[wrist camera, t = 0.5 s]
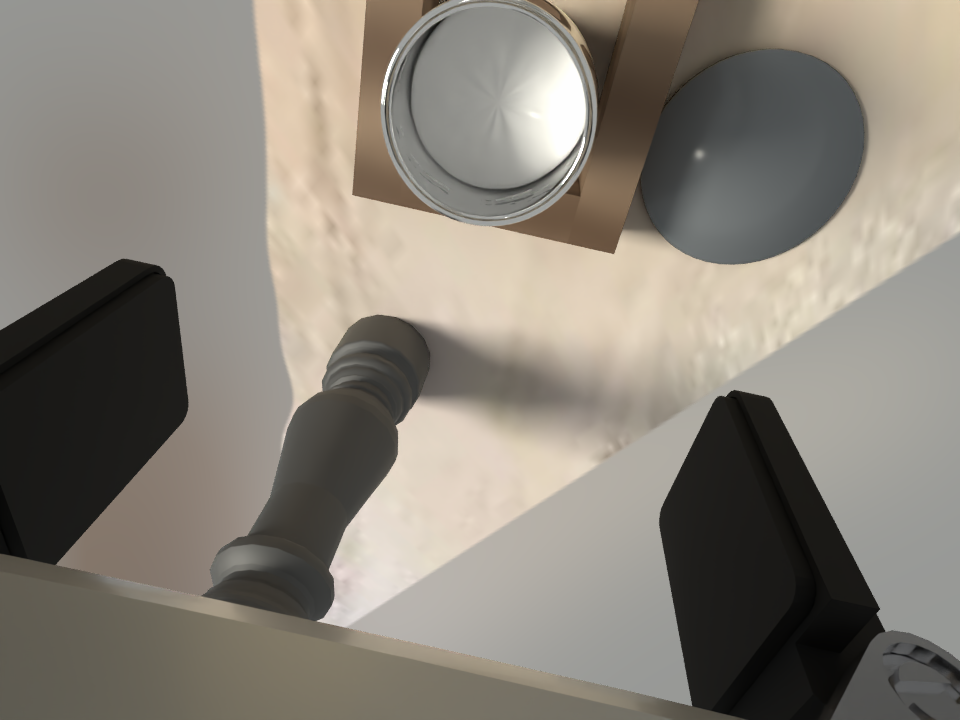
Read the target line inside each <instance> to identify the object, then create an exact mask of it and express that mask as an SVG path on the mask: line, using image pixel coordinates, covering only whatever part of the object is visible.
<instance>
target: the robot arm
mask: <svg viewBox="0 0 960 720" xmlns="http://www.w3.org/2000/svg"><path fill="white" fill-rule="evenodd" d="M187 411H188V395H187V386H186V377H185V369H184V360H183V352H182V343H181V335H180V326H179V318H178V309H177V301H176V292H175V285H174V282H173V280H172V279H171V278H170V277H168V276H166V274H165V272H164V270H163V269H162V268H161V267H160V266H157V265H152V264H148V263H143V262H138V261H134V260H129V259H121V260H118V261H116V262H114V263H113V264H111V265H109V266H108V267H106V268H104V269H103V270H101V271H99V272H98V273H96V274H94V275H93V276H91V277H89V278H88V279H86V280H85V281H83V282H81V283H79V284H78V285H76V286H74V287H72V288H71V289H69V290H67V291H66V292H64V293H62V294H61V295H59V296H57V297H56V298H54V299H52V300H51V301H49V302H47V303H46V304H44V305H42V306H40V307H39V308H37V309H36V310H34V311H32V312H30V313H29V314H27V315H25V316H24V317H22V318H20V319H19V320H17V321H15V322H14V323H12V324H10V325H9V326H7V327H5V328H3V329H2V330H0V720H960V661H959V660H958V659H956V658H955V657H954V656H953V655H951V654H950V653H949V652H947V651H945V650H944V649H942V648H940V647H939V646H937V645H935V644H934V643H932V642H930V641H928V640H925V639H923V638H921V637H918V636H916V635H913V634H911V633H906V632H899V631H888V632H885V630H884V628H883V626H882V624H881V622H880V620H879V618H878V616H877V614H876V613H877V612H878V611H879V610H880V608H879V606H878V604H877V602H876V600H875V598H874V597H873V595H872V593H871V591H870V589H869V587H868V585H867V583H866V581H865V579H864V577H863V575H862V573H861V571H860V570H859V568H858V566H857V564H856V562H855V560H854V558H853V556H852V554H851V552H850V551H849V548H848V547H847V545H846V543H845V541H844V539H843V537H842V535H841V533H840V531H839V529H838V527H837V525H836V523H835V521H834V520H833V517H832V516H831V514H830V512H829V510H828V508H827V506H826V504H825V502H824V500H823V498H822V496H821V494H820V492H819V491H818V489H817V487H816V485H815V483H814V481H813V479H812V477H811V475H810V473H809V471H808V470H807V467H806V465H805V464H804V462H803V460H802V458H801V456H800V454H799V452H798V450H797V448H796V446H795V444H794V442H793V440H792V439H791V436H790V435H789V433H788V431H787V429H786V427H785V425H784V423H783V421H782V419H781V417H780V415H779V413H778V412H777V410H776V408H775V406H774V404H773V402H772V400H771V399H770V398H768V397H765V396H759V395H755V394H751V393H746V392H741V391H736V390H734V391H731V392H730V393H729V394H728V395H727V396H726V397H724V396H719V397H717V398H716V399H715V401H714V403H713V404H712V407H711V408H710V411H709V412H708V415H707V416H706V418H705V420H704V423H703V425H702V427H701V429H700V431H699V433H698V435H697V437H696V439H695V441H694V443H693V445H692V447H691V449H690V451H689V453H688V455H687V457H686V459H685V461H684V463H683V465H682V467H681V469H680V471H679V473H678V475H677V477H676V479H675V481H674V483H673V485H672V487H671V489H670V491H669V493H668V496H667V497H666V499H665V501H664V504H663V506H662V508H661V512H660V518H659V526H660V532H661V538H662V543H663V548H664V554H665V560H666V565H667V570H668V576H669V581H670V587H671V592H672V598H673V603H674V608H675V614H676V619H677V625H678V631H679V636H680V641H681V647H682V652H683V657H684V663H685V669H686V674H687V679H688V684H689V690H690V696H691V701H692V706H688V705H684V704H680V703H676V702H672V701H668V700H664V699H659V698H655V697H651V696H647V695H643V694H639V693H635V692H631V691H626V690H622V689H617V688H613V687H609V686H604V685H599V684H595V683H591V682H586V681H582V680H577V679H573V678H568V677H563V676H559V675H555V674H551V673H546V672H542V671H537V670H533V669H528V668H524V667H520V666H515V665H511V664H506V663H501V662H497V661H493V660H488V659H484V658H479V657H475V656H471V655H466V654H462V653H457V652H453V651H448V650H444V649H439V648H435V647H430V646H426V645H421V644H417V643H412V642H407V641H403V640H399V639H394V638H389V637H385V636H380V635H376V634H371V633H366V632H362V631H357V630H353V629H349V628H344V627H339V626H335V625H330V624H326V623H321V622H317V621H312V620H308V619H303V618H298V617H294V616H289V615H285V614H280V613H275V612H271V611H266V610H262V609H257V608H253V607H248V606H243V605H239V604H234V603H230V602H225V601H220V600H216V599H211V598H207V597H202V596H197V595H193V594H188V593H183V592H179V591H174V590H169V589H165V588H160V587H155V586H150V585H146V584H141V583H136V582H132V581H127V580H122V579H117V578H113V577H108V576H103V575H99V574H94V573H90V572H85V571H80V570H75V569H71V568H66V567H61V566H57V565H56V564H57V562H58V561H59V560H60V559H61V558H62V557H63V556H64V555H65V554H66V552H67V551H68V550H69V549H70V548H71V547H72V546H73V545H74V544H75V542H76V541H77V540H78V539H79V538H80V537H81V536H82V534H83V533H84V532H85V531H86V530H87V529H88V528H89V527H90V526H91V524H92V523H93V522H94V521H95V520H96V519H97V518H98V517H99V515H100V514H101V513H102V512H103V511H104V510H105V509H106V508H107V506H108V505H109V504H110V503H111V502H112V501H113V500H114V499H115V497H116V496H117V495H118V494H119V493H120V492H121V491H122V490H123V489H124V487H125V486H126V485H127V484H128V483H129V482H130V481H131V480H132V478H133V477H134V476H135V475H136V474H137V473H138V472H139V471H140V469H141V468H142V467H143V466H144V465H145V464H146V463H147V462H148V460H149V459H150V458H151V457H152V456H153V455H154V454H155V453H156V451H157V450H158V449H159V448H160V447H161V446H162V445H163V444H164V442H165V441H166V440H167V439H168V438H169V437H170V436H171V435H172V433H173V432H174V431H175V430H176V429H177V428H178V427H179V426H180V425H181V423H182V422H183V421H184V418H185V417H186V414H187Z"/></svg>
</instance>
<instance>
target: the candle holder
mask: <svg viewBox="0 0 960 720" xmlns="http://www.w3.org/2000/svg"><path fill="white" fill-rule="evenodd" d="M429 360H430V353H429V350H428V348H427V345H426V343H425V340H424V338H423V337H422V336H421V335H420V334H419V333H418V332H417V331H416V330H415V329H414V328H413V327H412V326H411V325H409V324H407V323H405V322H403V321H401V320H400V319H398V318H396V317H389V316H382V315H375V316H370V317H366V318H362V319H360V320H359V321H357V322H356V323H355V324H353V325H352V326H351V327H350V328H349V329H348V330H347V332H346V333H345V335H344V336H343V338H342V339H341V341H340V343H339V344H338V346H337V347H336V349H335V350H334V352H333V354H332V356H331V358H330V360H329V362H328V365H327V371H326V373H325V376H324V378H323V380H322V388H323V392H319V393H317V394H316V395H314V396H313V397H312V398H310V399H309V400H308V401H306V402H305V403H303V404H302V405H301V406H299V407H298V409H297V410H296V412H295V413H294V415H293V417H292V420H291V422H290V424H289V426H288V429H287V432H286V436H285V440H284V444H283V449H282V453H281V457H280V461H279V464H278V468H277V472H276V476H275V480H274V484H273V488H272V492H271V495H270V498H269V500H268V502H267V504H266V505H265V507H264V509H263V510H262V512H261V514H260V515H259V517H258V519H257V520H256V522H255V524H254V525H253V527H252V529H251V531H250V532H249V534H248V536H245V537H238V538H237V539H235V540H233V541H232V542H230V543H229V544H227V545H225V546H224V547H222V548H221V549H220V551H219V552H218V553H217V555H216V557H215V559H214V562H213V564H212V566H211V569H210V572H211V577H212V581H213V586H214V587H212V588H210V589H209V590H208V591H207V593H205V594H203V595H202V597H207V598H211V599H216V600H220V601H225V602H230V603H234V604H239V605H243V606H248V607H253V608H257V609H262V610H266V611H271V612H275V613H280V614H285V615H289V616H294V617H298V618H303V619H308V620H312V621H317V620H320V619H322V618H324V616H325V615H326V613H327V612H328V610H329V609H330V607H331V606H332V603H333V600H334V579H333V577H332V575H331V574H330V572H329V567H330V565H331V563H332V560H333V558H334V555H335V553H336V550H337V548H338V545H339V543H340V541H341V538H342V536H343V533H344V531H345V528H346V527H347V526H348V524H349V523H350V522H351V520H352V519H353V518H354V517H355V515H356V514H357V513H358V511H359V510H360V509H361V507H362V506H363V505H364V504H365V502H366V501H367V500H368V498H369V497H370V496H371V494H372V493H373V492H374V491H375V489H376V488H377V487H378V486H379V484H380V483H381V482H382V480H383V479H384V478H385V477H386V475H387V474H388V472H389V471H390V469H391V467H392V466H393V464H394V462H395V460H396V457H397V455H398V431H397V428H396V426H395V425H397V424H399V423H400V422H402V421H403V420H404V418H405V417H406V415H407V413H408V412H409V410H410V409H412V407H413V405H414V404H415V402H416V400H417V399H418V397H419V395H420V392H421V390H422V387H423V384H424V381H425V378H426V376H427V373H428V370H429Z"/></svg>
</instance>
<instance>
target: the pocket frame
mask: <svg viewBox="0 0 960 720" xmlns="http://www.w3.org/2000/svg"><path fill="white" fill-rule="evenodd" d="M698 1H699V0H627V4H626V8H625V11H624V15H623V18H622V22H621V26H620V29H619V33H618V36H617V40H616V44H615V47H614V51H613V54H612V58H611V62H610V65H609V69H608V72H607V76H606V80H605V83H604V87H603V90H602V94H601V98H600V101H599V105H598V110H597V125H596V132H595V137H594V141H593V145H592V148H591V151H590V154H589V157H588V159H587V161H586V163H585V165H584V168H583V169H582V171H581V173H580V175H579V176H578V178H577V179H576V181H575V182H574V183H573V185H572V186H571V187H570V188H569V190H568V191H567V192H566V193H565V194H564V195H563V196H562V197H561V198H560V199H559V200H558V201H556V202H555V203H554V204H553V205H551V206H550V207H549V208H547V209H546V210H544V211H543V212H541V213H539V214H537V215H535V216H533V217H531V218H529V219H526V220H524V221H521V222H517V223H513V224H509V225H503V226H492V227H496V228H501V229H505V230H510V231H514V232H519V233H523V234H527V235H532V236H536V237H541V238H545V239H550V240H554V241H559V242H563V243H567V244H572V245H576V246H581V247H585V248H590V249H594V250H598V251H603V252H607V253H612V254H614V253H615V250H616V247H617V244H618V241H619V238H620V235H621V232H622V229H623V226H624V223H625V220H626V217H627V214H628V211H629V208H630V205H631V202H632V199H633V196H634V193H635V190H636V187H637V184H638V181H639V178H640V175H641V172H642V169H643V166H644V163H645V160H646V157H647V154H648V151H649V148H650V145H651V142H652V139H653V136H654V133H655V130H656V127H657V124H658V121H659V118H660V115H661V112H662V109H663V106H664V103H665V100H666V97H667V94H668V91H669V88H670V85H671V82H672V79H673V76H674V73H675V70H676V67H677V64H678V61H679V58H680V55H681V52H682V49H683V46H684V43H685V40H686V37H687V34H688V31H689V28H690V25H691V22H692V19H693V16H694V13H695V10H696V7H697V4H698ZM438 5H439V0H366V14H365V28H364V42H363V56H362V70H361V83H360V97H359V111H358V125H357V139H356V153H355V166H354V180H353V194H352V195H355V196H359V197H363V198H368V199H372V200H377V201H381V202H386V203H390V204H394V205H399V206H403V207H408V208H412V209H417V210H421V211H426V212H430V213H434V214H439V215H442V214H440V213H439V212H437V211H435V210H434V209H432V208H431V207H429V206H428V205H427V204H425V203H424V202H423V201H422V200H421V199H420V198H418V197H417V196H416V195H415V194H414V193H413V192H412V191H411V189H410V188H409V187H408V186H407V185H406V183H405V182H404V181H403V179H402V178H401V176H400V175H399V173H398V171H397V170H396V168H395V166H394V164H393V162H392V160H391V158H390V155H389V153H388V150H387V147H386V144H385V140H384V136H383V131H382V125H381V113H380V104H381V92H382V86H383V81H384V76H385V73H386V70H387V67H388V64H389V61H390V59H391V57H392V55H393V53H394V51H395V49H396V47H397V45H398V44H399V42H400V41H401V39H402V38H403V36H404V35H405V34H406V33H407V31H408V30H409V29H410V28H411V27H412V26H413V25H414V24H415V23H416V22H417V21H418V20H419V19H420V18H421V17H422V16H423V15H425V14H426V13H427V12H429V11H430V10H432V9H433V8H435V7H437V6H438ZM443 216H444V215H443Z"/></svg>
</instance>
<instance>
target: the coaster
mask: <svg viewBox="0 0 960 720" xmlns="http://www.w3.org/2000/svg"><path fill="white" fill-rule="evenodd" d="M863 148H864V124H863V117H862V113H861V109H860V105H859V103H858V101H857V99H856V96H855V94H854V92H853V91H852V89H851V88H850V86H849V85H848V83H847V82H846V80H845V79H844V78H843V77H842V76H841V75H840V74H839V73H838V72H837V71H836V70H834V69H833V68H832V67H830V66H829V65H828V64H826V63H825V62H823V61H821V60H819V59H817V58H815V57H813V56H810V55H807V54H803V53H800V52H797V51H790V50H783V49H762V50H754V51H748V52H744V53H741V54H737V55H734V56H731V57H729V58H726V59H724V60H721V61H719V62H717V63H715V64H713V65H712V66H710V67H708V68H706V69H705V70H703V71H702V72H700V73H699V74H697V75H696V76H695V77H693V78H692V79H691V80H689V81H688V82H687V83H686V84H685V85H684V86H683V87H682V88H681V89H680V90H678V92H677V93H676V94H675V95H674V96H673V97H672V98H671V100H670V101H669V102H668V103H667V104H666V106H665V107H664V109H663V110H662V112H661V115H660V118H659V121H658V124H657V127H656V130H655V133H654V136H653V139H652V142H651V145H650V148H649V151H648V154H647V157H646V160H645V163H644V166H643V169H642V172H641V188H642V196H643V199H644V203H645V206H646V209H647V211H648V214H649V216H650V218H651V220H652V222H653V224H654V225H655V227H656V228H657V230H658V231H659V232H660V233H661V235H662V236H663V237H664V238H665V239H666V240H667V241H668V242H669V243H670V244H672V245H673V246H674V247H675V248H677V249H678V250H680V251H682V252H683V253H685V254H687V255H689V256H691V257H694V258H696V259H699V260H703V261H706V262H711V263H717V264H746V263H751V262H756V261H761V260H764V259H767V258H771V257H774V256H776V255H778V254H781V253H783V252H785V251H787V250H789V249H791V248H793V247H795V246H796V245H798V244H800V243H801V242H803V241H804V240H805V239H807V238H808V237H810V236H811V235H812V234H814V233H815V232H816V231H817V230H818V229H819V228H821V227H822V226H823V225H824V224H825V223H826V222H827V221H828V220H829V218H830V217H831V216H832V215H833V214H834V213H835V212H836V210H837V209H838V208H839V206H840V205H841V204H842V202H843V201H844V199H845V197H846V196H847V194H848V192H849V191H850V189H851V187H852V185H853V182H854V180H855V178H856V176H857V173H858V170H859V167H860V163H861V159H862V154H863Z"/></svg>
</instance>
